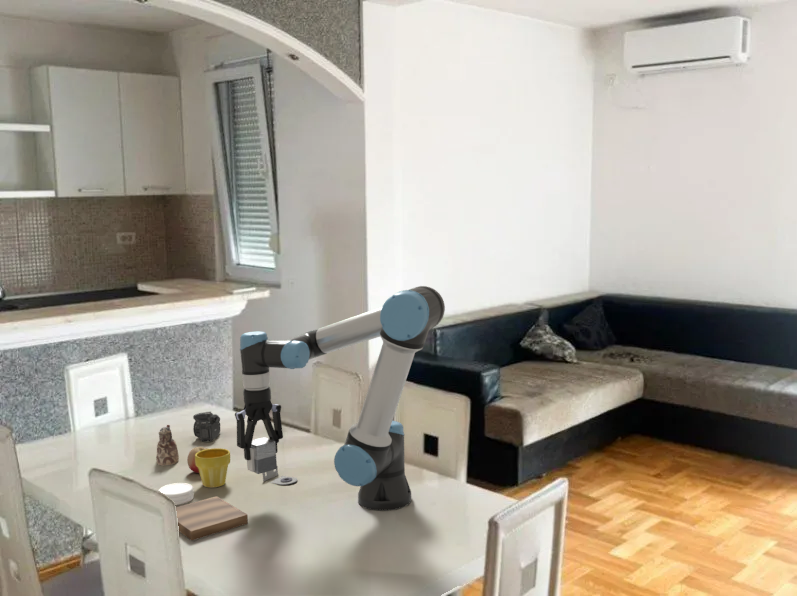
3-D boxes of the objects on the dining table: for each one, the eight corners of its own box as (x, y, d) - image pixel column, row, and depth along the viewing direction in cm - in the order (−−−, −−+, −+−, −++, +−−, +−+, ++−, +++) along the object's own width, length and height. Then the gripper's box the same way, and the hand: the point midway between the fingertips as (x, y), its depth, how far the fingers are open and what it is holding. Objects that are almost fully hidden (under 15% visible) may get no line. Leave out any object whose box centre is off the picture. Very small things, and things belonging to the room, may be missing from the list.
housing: (276, 468, 227) (275, 441, 226) (258, 474, 223) (256, 446, 222) (266, 464, 231) (264, 437, 230) (247, 469, 228) (245, 441, 227)
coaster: (156, 496, 236) (156, 485, 236) (191, 491, 240) (191, 480, 240) (159, 508, 227) (159, 496, 227) (195, 503, 231) (195, 491, 230)
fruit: (205, 477, 252) (204, 452, 251) (183, 474, 254) (182, 450, 253) (219, 468, 259) (217, 444, 258) (197, 466, 262) (196, 442, 261)
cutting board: (247, 523, 215) (247, 514, 214) (191, 540, 205) (191, 531, 204) (217, 504, 229) (216, 496, 228) (163, 519, 219) (162, 510, 218)
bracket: (287, 488, 241) (287, 477, 241) (262, 482, 247) (262, 471, 247) (301, 481, 247) (301, 470, 246) (277, 475, 252) (276, 465, 252)
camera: (193, 434, 298) (191, 408, 297) (220, 431, 301) (219, 405, 300) (194, 444, 286) (193, 417, 284) (223, 441, 288) (221, 414, 287)
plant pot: (217, 475, 253) (215, 445, 251) (238, 482, 246) (237, 451, 245) (189, 485, 245) (187, 454, 243) (211, 492, 238) (209, 460, 237)
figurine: (152, 464, 265) (150, 429, 263) (163, 457, 272) (161, 423, 270) (172, 465, 263) (169, 430, 262) (182, 459, 270) (180, 424, 268)
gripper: (279, 379, 233) (284, 457, 236) (219, 391, 221) (225, 472, 224) (293, 383, 227) (297, 462, 230) (232, 395, 216) (238, 479, 218)
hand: (262, 467), depth 227 cm, fingers closed on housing, 6 cm apart
